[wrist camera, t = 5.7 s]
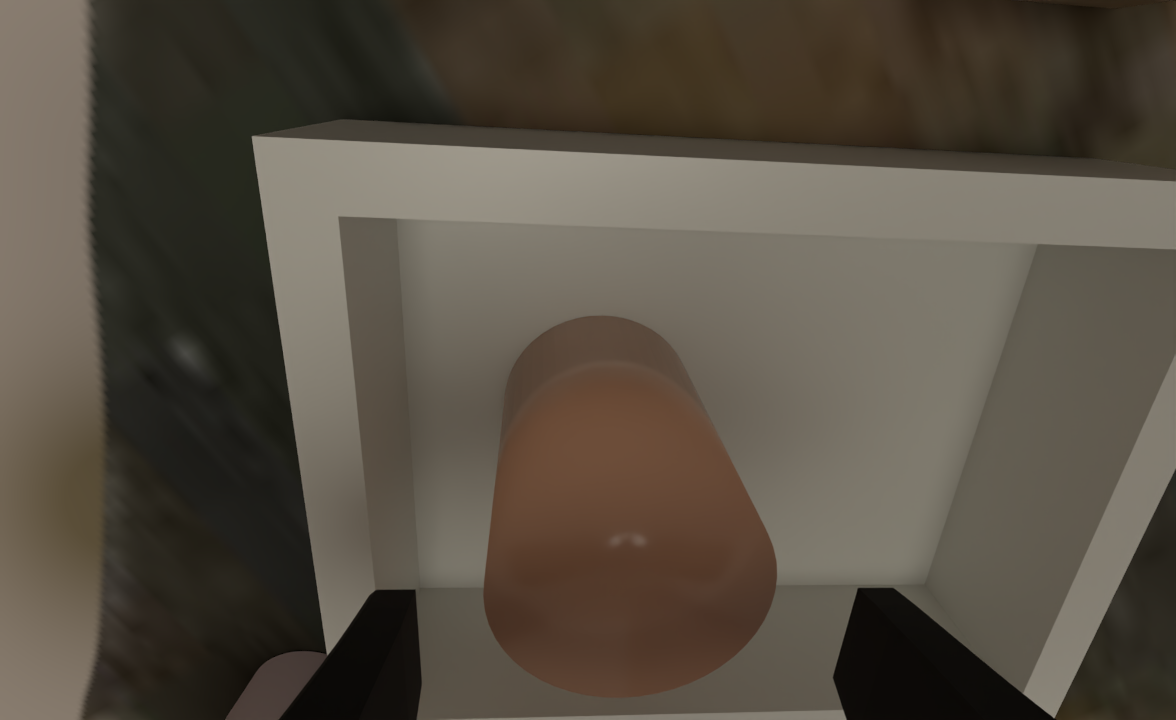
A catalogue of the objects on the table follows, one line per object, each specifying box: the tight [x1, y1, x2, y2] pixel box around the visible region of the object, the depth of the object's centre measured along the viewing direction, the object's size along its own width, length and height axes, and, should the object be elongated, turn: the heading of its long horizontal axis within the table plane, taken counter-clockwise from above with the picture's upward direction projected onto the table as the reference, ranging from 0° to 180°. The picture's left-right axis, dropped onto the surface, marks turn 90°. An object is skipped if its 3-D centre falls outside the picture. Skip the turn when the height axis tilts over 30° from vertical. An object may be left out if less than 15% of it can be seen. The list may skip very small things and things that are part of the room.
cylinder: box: [483, 316, 777, 698], centre depth 14 cm, size 5×5×7 cm
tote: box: [252, 119, 1176, 720], centre depth 16 cm, size 18×14×5 cm
